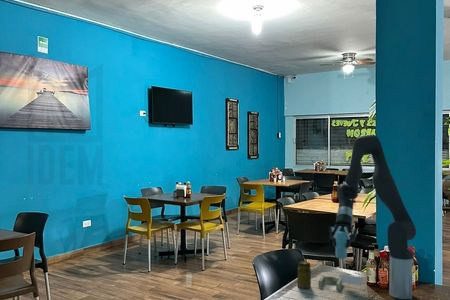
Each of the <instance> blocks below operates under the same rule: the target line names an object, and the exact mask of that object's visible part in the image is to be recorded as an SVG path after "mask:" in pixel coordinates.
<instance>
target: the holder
mask: <svg viewBox="0 0 450 300" xmlns="http://www.w3.org/2000/svg"><path fill="white" fill-rule="evenodd" d="M343 286H344V283H343V282H342V278H340V277H339V276H331V275H324V274H322V275H321V277H320V278H319V280H318V286H317V288H319V289H324V290H331V291H335V292H336V291H337V292H341V290H342V287H343Z"/></svg>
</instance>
